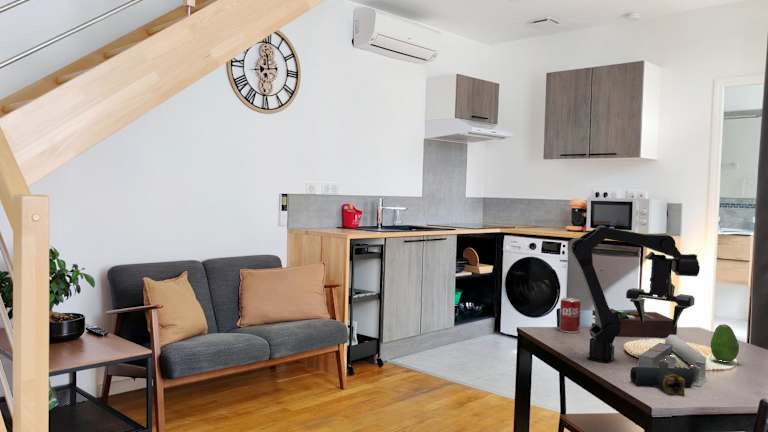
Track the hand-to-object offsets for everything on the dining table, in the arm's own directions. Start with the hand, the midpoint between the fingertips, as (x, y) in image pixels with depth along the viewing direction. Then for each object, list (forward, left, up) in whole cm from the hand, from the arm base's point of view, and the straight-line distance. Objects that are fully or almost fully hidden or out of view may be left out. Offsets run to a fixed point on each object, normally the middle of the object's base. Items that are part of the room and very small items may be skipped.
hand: (658, 324), depth 192 cm
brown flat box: (-19, +40, -13) cm, 46 cm away
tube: (+6, +13, -12) cm, 19 cm away
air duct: (0, 0, -12) cm, 12 cm away
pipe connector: (+9, -25, -13) cm, 30 cm away
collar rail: (+10, -13, -12) cm, 21 cm away
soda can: (-37, +23, -12) cm, 45 cm away
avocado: (+16, +17, -12) cm, 26 cm away
